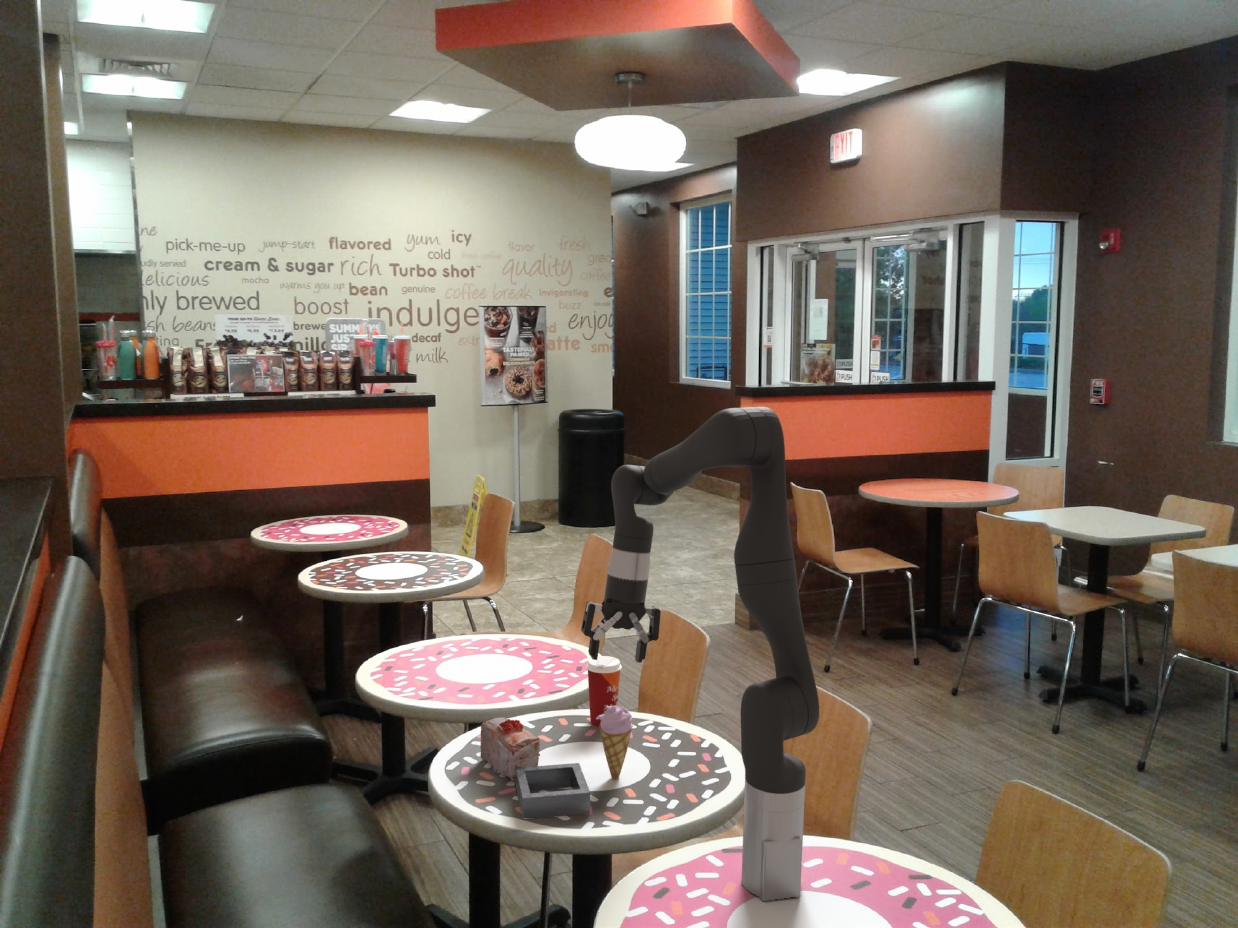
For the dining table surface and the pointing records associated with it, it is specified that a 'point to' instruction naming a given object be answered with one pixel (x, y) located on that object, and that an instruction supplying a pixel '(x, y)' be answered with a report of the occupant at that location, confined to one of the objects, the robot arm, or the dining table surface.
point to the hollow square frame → (552, 801)
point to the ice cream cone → (615, 737)
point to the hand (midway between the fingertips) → (616, 660)
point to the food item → (508, 746)
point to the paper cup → (602, 685)
